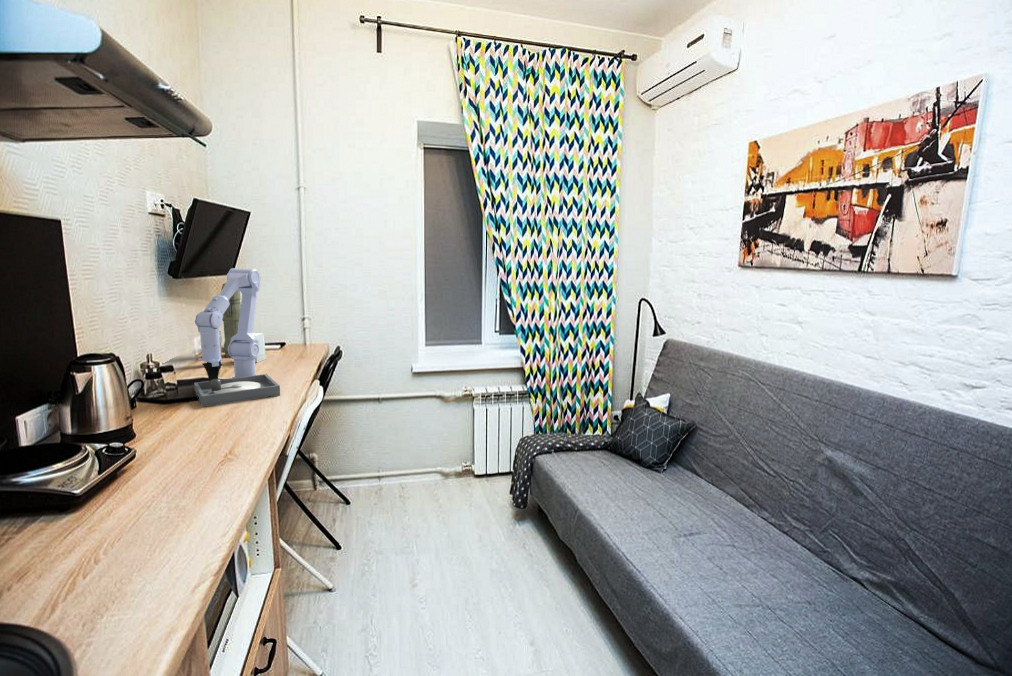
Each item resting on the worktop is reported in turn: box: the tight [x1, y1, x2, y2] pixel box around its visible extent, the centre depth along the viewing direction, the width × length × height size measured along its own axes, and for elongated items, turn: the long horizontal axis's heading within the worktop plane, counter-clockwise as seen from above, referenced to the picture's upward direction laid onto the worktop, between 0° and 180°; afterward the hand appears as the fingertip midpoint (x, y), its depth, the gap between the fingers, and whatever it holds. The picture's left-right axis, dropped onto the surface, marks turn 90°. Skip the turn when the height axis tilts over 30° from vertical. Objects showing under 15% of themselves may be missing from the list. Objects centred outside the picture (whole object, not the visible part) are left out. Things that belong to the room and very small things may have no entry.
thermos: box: [220, 282, 241, 358], centre depth 232 cm, size 9×12×35 cm
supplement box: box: [241, 332, 267, 364], centre depth 224 cm, size 7×7×13 cm
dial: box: [211, 378, 260, 394], centre depth 174 cm, size 16×15×5 cm
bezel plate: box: [193, 373, 281, 407], centre depth 174 cm, size 20×24×4 cm
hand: (213, 382), depth 174 cm, fingers closed
